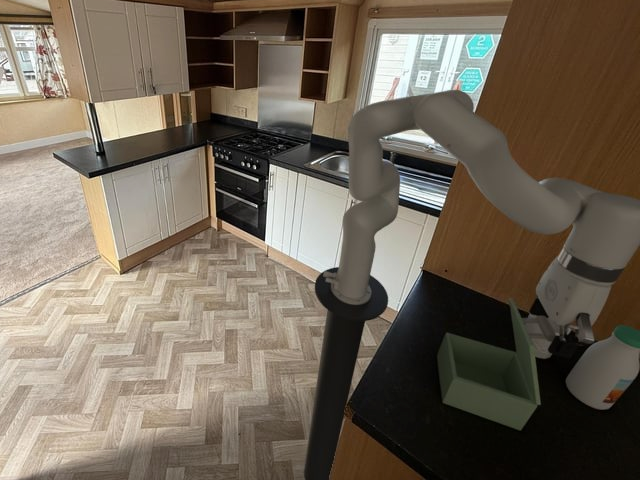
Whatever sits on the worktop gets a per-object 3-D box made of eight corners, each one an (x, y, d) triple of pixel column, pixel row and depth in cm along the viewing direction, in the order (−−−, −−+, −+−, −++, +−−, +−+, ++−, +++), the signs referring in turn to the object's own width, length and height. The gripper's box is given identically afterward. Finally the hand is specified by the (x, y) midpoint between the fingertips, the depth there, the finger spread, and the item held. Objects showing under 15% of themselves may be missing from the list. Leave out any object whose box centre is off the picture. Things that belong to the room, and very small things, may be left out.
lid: (529, 345, 57) (566, 347, 55) (508, 298, 67) (539, 298, 65) (536, 404, 61) (571, 408, 59) (516, 351, 72) (545, 353, 69)
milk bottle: (581, 408, 69) (629, 348, 60) (556, 375, 76) (596, 316, 67) (620, 413, 68) (675, 353, 59) (591, 379, 75) (636, 320, 66)
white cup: (561, 361, 79) (580, 334, 75) (531, 361, 79) (547, 334, 75) (536, 334, 86) (551, 308, 82) (508, 334, 86) (522, 308, 82)
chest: (442, 402, 70) (453, 378, 66) (436, 355, 81) (446, 332, 77) (520, 430, 65) (537, 406, 61) (503, 376, 76) (517, 352, 72)
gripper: (541, 233, 62) (511, 297, 69) (585, 291, 48) (540, 364, 55) (590, 241, 59) (553, 307, 67) (652, 305, 45) (595, 380, 52)
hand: (547, 333), depth 61 cm, fingers open, 9 cm apart
